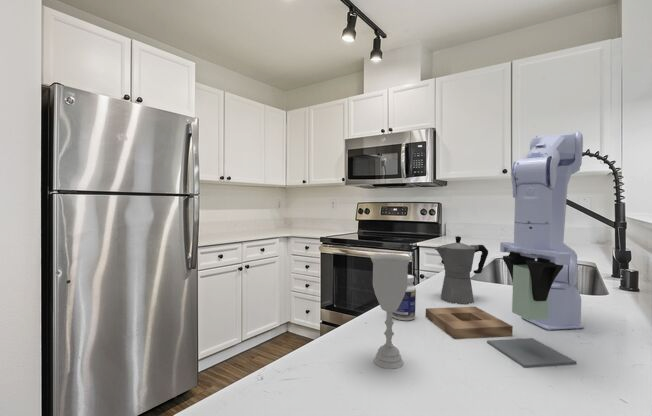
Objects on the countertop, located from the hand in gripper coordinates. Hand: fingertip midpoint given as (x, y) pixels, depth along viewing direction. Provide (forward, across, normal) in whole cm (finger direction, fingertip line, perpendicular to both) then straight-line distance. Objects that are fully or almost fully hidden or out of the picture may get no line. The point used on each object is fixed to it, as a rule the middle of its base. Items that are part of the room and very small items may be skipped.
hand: (530, 296), depth 62 cm
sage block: (+3, 0, 0) cm, 3 cm away
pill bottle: (+11, -21, -16) cm, 28 cm away
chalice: (+10, 0, -27) cm, 29 cm away
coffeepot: (+11, -33, +6) cm, 35 cm away
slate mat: (+10, 0, 0) cm, 10 cm away
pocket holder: (+10, -14, -4) cm, 18 cm away
